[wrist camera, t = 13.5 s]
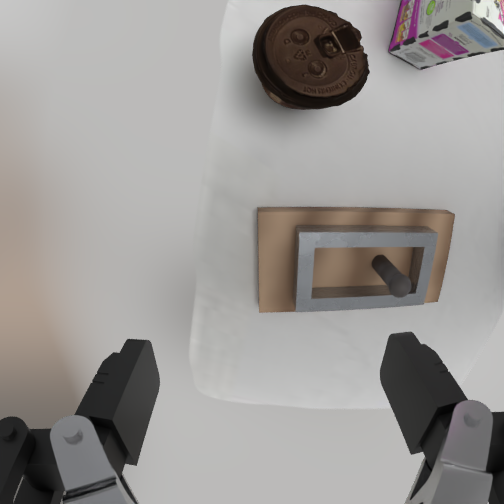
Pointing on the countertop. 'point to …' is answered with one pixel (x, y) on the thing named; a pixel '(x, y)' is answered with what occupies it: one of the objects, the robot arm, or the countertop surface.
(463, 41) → the candy bar box
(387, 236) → the grey picture frame
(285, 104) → the coffee cup
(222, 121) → the countertop surface
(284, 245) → the board
